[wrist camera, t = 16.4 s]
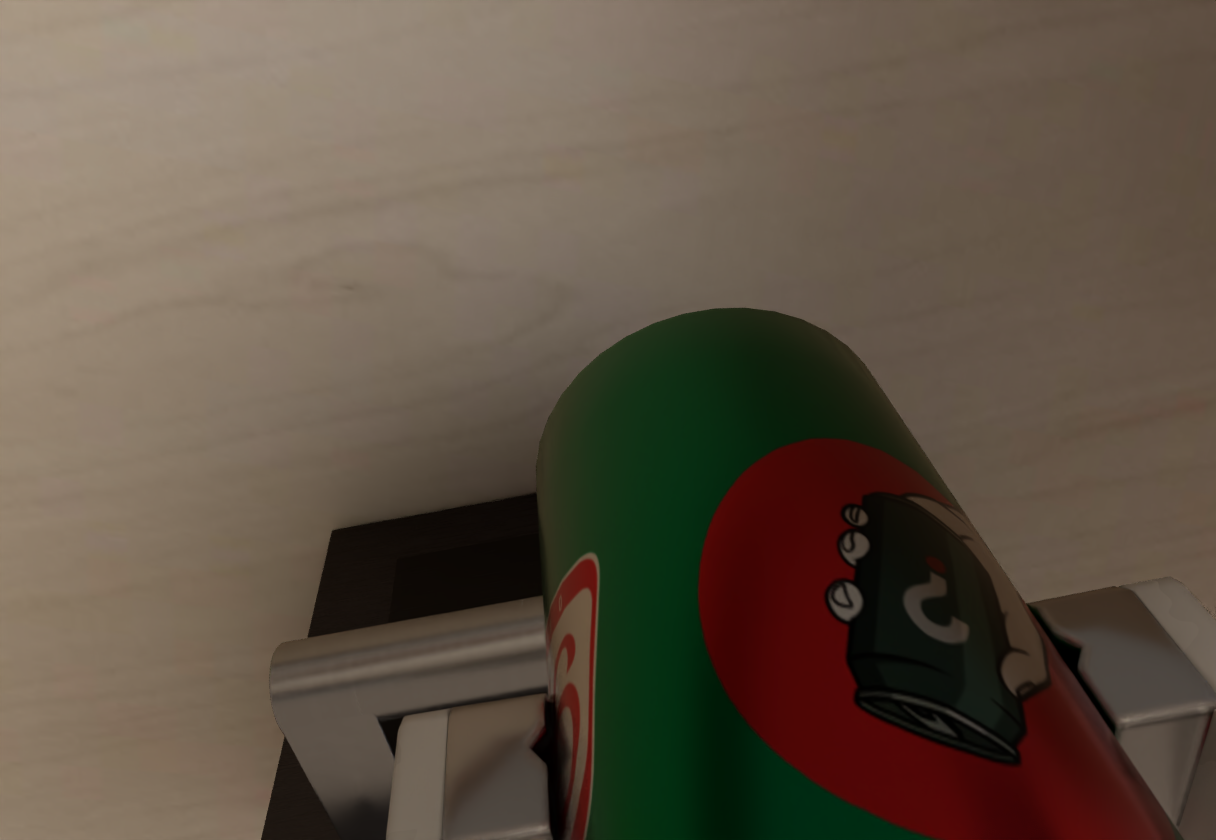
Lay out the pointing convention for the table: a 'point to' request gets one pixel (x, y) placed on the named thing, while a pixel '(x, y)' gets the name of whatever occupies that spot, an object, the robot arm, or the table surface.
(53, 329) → the table surface
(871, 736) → the soda can
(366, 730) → the oven door
